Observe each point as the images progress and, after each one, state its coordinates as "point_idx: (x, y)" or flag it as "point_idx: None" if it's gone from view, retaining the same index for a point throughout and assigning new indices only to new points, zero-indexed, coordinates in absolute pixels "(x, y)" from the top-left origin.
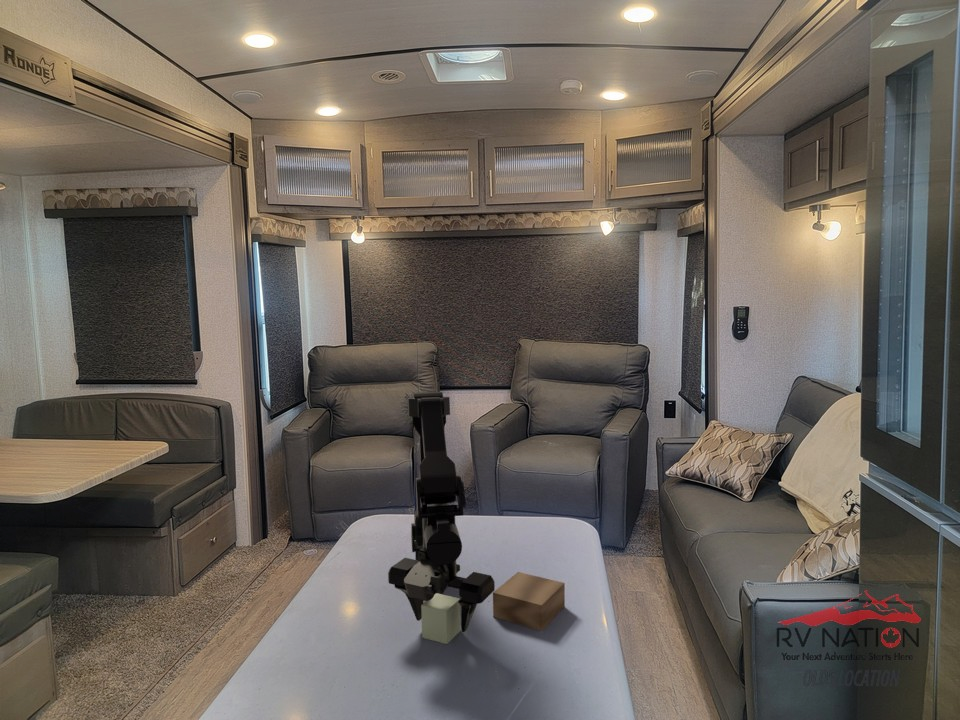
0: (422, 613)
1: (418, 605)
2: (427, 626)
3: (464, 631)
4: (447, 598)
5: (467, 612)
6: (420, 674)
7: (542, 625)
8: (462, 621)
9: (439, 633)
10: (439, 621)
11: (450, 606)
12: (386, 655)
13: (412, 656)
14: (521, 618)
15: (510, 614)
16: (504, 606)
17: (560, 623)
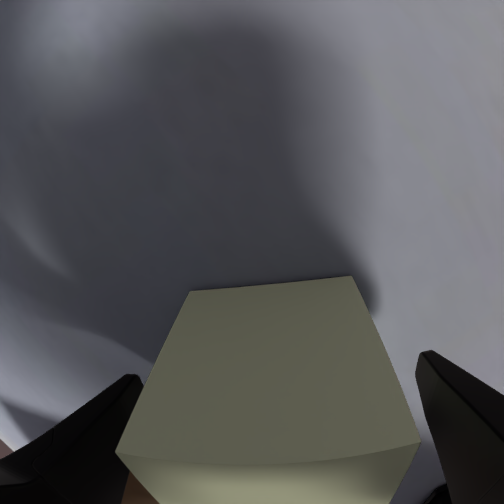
0: (388, 381)
1: (455, 422)
2: (325, 324)
3: (125, 377)
4: None
5: (25, 448)
6: (130, 5)
7: None
8: (94, 411)
9: (228, 316)
10: (211, 374)
11: (155, 495)
12: (412, 36)
13: (280, 89)
14: None
15: (127, 481)
16: (139, 502)
17: None
